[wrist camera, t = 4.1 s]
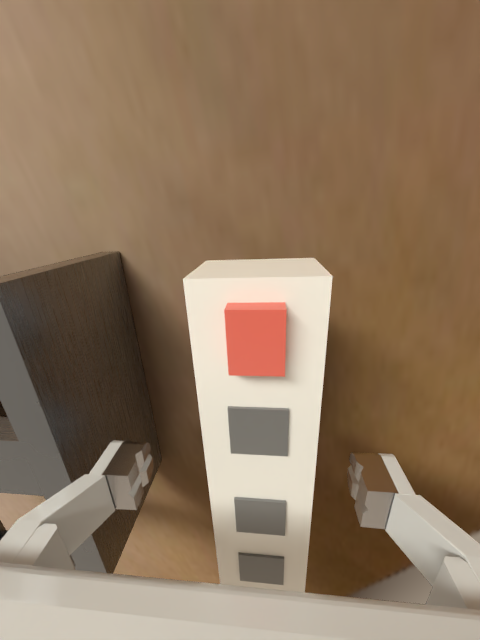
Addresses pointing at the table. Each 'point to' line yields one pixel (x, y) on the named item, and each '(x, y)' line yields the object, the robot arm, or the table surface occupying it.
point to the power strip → (260, 409)
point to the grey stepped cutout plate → (71, 387)
